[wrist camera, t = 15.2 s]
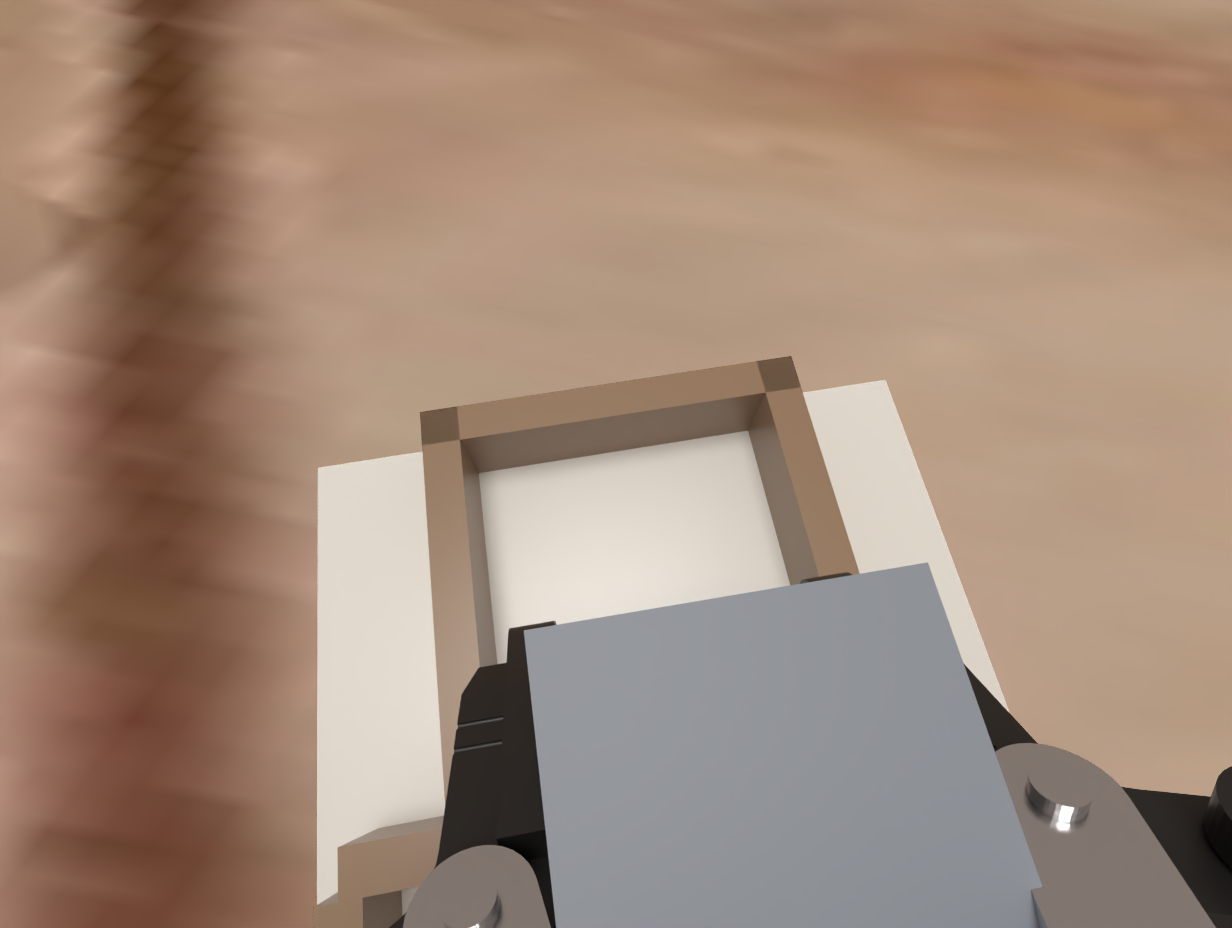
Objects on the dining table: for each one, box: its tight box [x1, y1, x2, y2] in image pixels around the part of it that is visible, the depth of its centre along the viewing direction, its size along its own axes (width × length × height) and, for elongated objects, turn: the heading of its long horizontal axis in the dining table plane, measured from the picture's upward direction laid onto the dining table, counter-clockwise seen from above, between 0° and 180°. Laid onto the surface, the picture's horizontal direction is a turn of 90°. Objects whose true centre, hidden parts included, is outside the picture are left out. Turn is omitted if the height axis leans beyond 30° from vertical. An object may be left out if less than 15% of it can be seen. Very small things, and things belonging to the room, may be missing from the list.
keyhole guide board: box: [313, 356, 1010, 928], centre depth 15 cm, size 18×24×4 cm
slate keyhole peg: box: [524, 562, 1042, 928], centre depth 11 cm, size 6×6×12 cm
